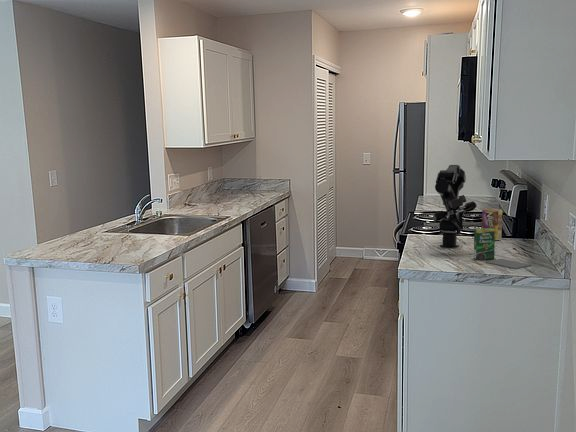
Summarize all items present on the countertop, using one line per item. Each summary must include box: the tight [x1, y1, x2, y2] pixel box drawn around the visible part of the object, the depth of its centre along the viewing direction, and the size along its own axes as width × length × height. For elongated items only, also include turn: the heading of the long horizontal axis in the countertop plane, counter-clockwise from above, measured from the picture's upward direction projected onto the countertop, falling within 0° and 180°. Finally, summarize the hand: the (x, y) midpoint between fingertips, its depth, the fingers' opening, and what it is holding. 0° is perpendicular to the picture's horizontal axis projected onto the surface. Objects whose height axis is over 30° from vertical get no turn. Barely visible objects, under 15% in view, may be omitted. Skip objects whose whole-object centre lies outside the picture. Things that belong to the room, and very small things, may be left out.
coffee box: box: [473, 227, 496, 261], centre depth 226 cm, size 8×3×13 cm, turn 90°
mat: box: [485, 258, 533, 270], centre depth 217 cm, size 14×10×1 cm
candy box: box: [481, 208, 503, 241], centre depth 269 cm, size 9×4×15 cm, turn 39°
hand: (461, 229), depth 234 cm, fingers closed
